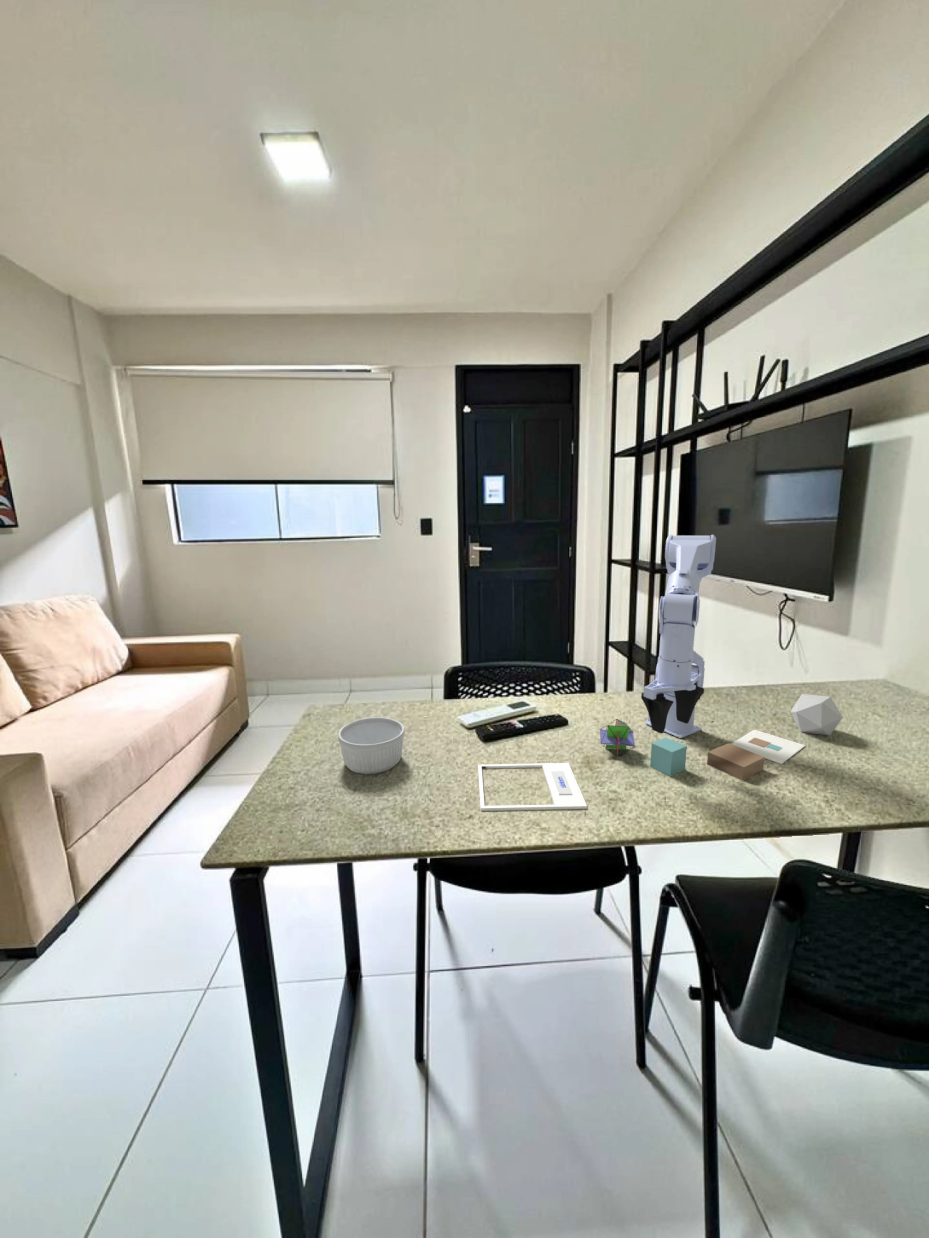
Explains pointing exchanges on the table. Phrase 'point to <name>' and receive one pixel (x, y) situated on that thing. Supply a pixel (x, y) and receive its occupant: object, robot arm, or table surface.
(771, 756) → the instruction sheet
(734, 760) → the brown block
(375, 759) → the ramekin
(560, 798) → the photo frame
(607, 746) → the geometric puzzle
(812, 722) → the die
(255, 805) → the table surface
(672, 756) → the teal brick
